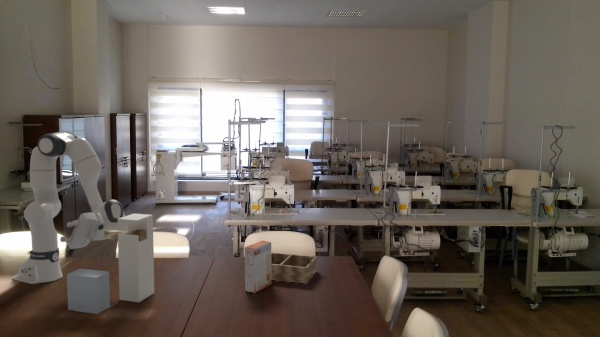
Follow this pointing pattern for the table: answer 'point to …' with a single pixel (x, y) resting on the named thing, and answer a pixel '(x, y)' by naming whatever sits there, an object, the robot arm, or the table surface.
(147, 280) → the stand
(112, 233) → the mallet
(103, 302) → the block
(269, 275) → the cracker box
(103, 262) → the table surface
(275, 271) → the parts tray
